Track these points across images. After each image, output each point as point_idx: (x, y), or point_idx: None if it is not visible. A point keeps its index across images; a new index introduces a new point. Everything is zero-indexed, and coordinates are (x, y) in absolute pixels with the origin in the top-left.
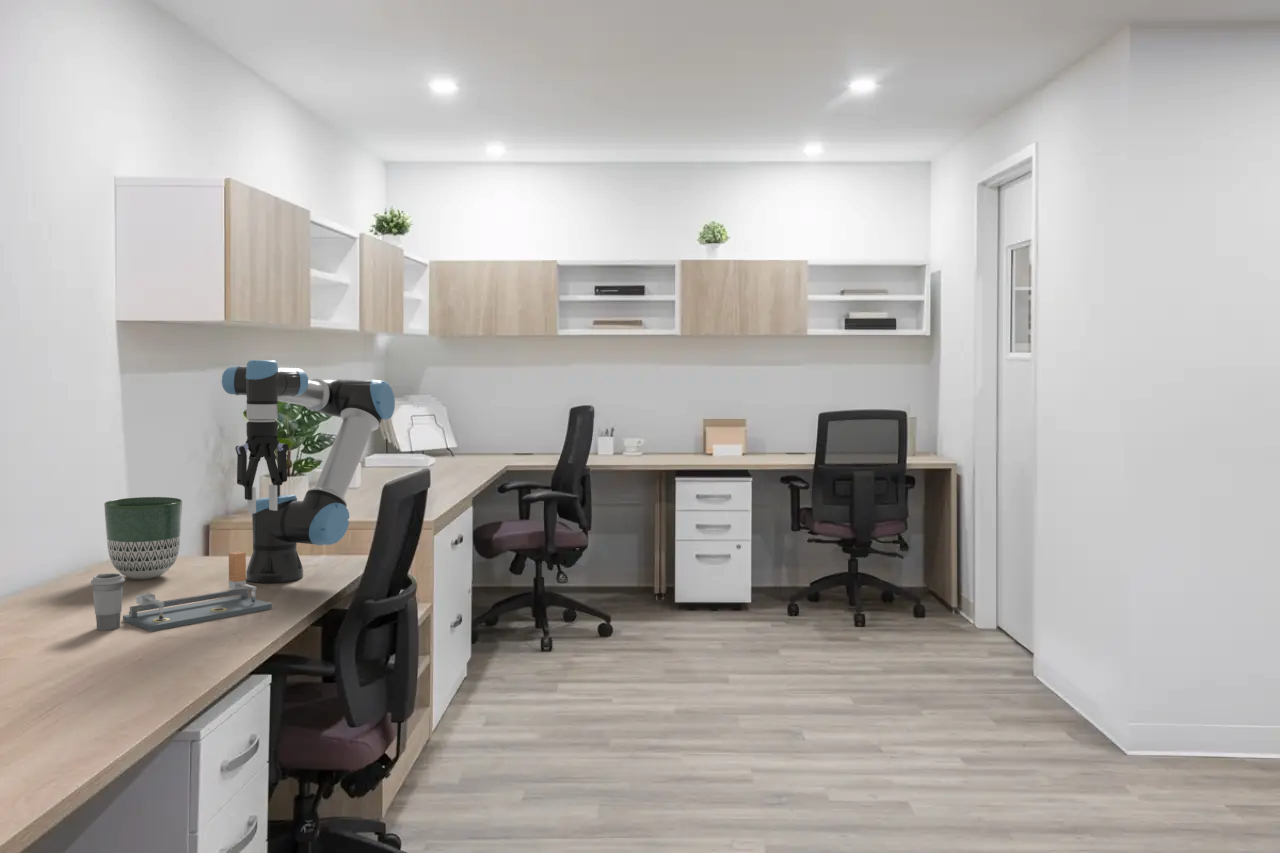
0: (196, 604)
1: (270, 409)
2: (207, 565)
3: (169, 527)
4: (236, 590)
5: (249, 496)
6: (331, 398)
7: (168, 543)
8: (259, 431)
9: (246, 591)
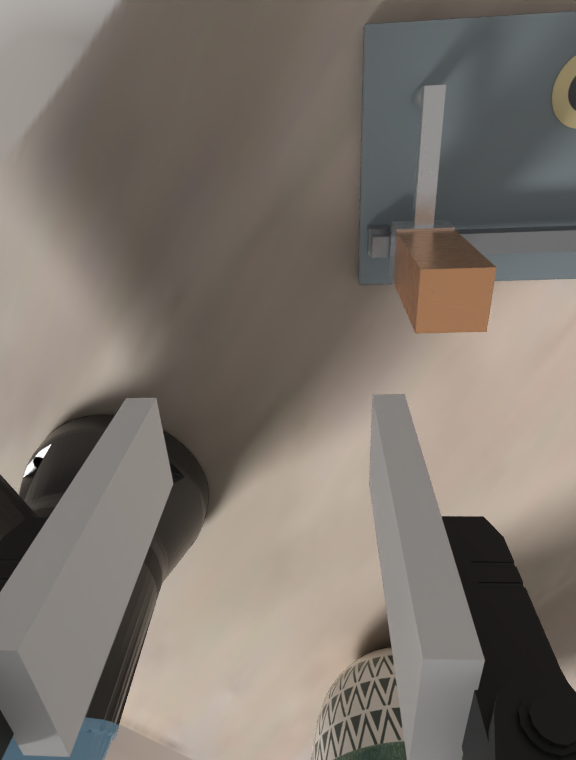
0: (571, 253)
1: None
2: (212, 685)
3: None
4: None
5: (479, 552)
6: None
7: (389, 726)
8: None
9: (378, 233)
